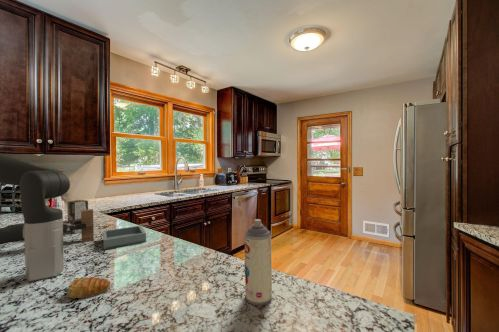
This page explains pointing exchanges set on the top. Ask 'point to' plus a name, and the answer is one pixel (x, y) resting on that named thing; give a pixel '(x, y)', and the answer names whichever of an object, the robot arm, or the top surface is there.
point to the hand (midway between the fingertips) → (86, 223)
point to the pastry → (87, 287)
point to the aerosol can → (258, 264)
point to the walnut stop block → (87, 225)
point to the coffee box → (76, 210)
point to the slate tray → (123, 237)
